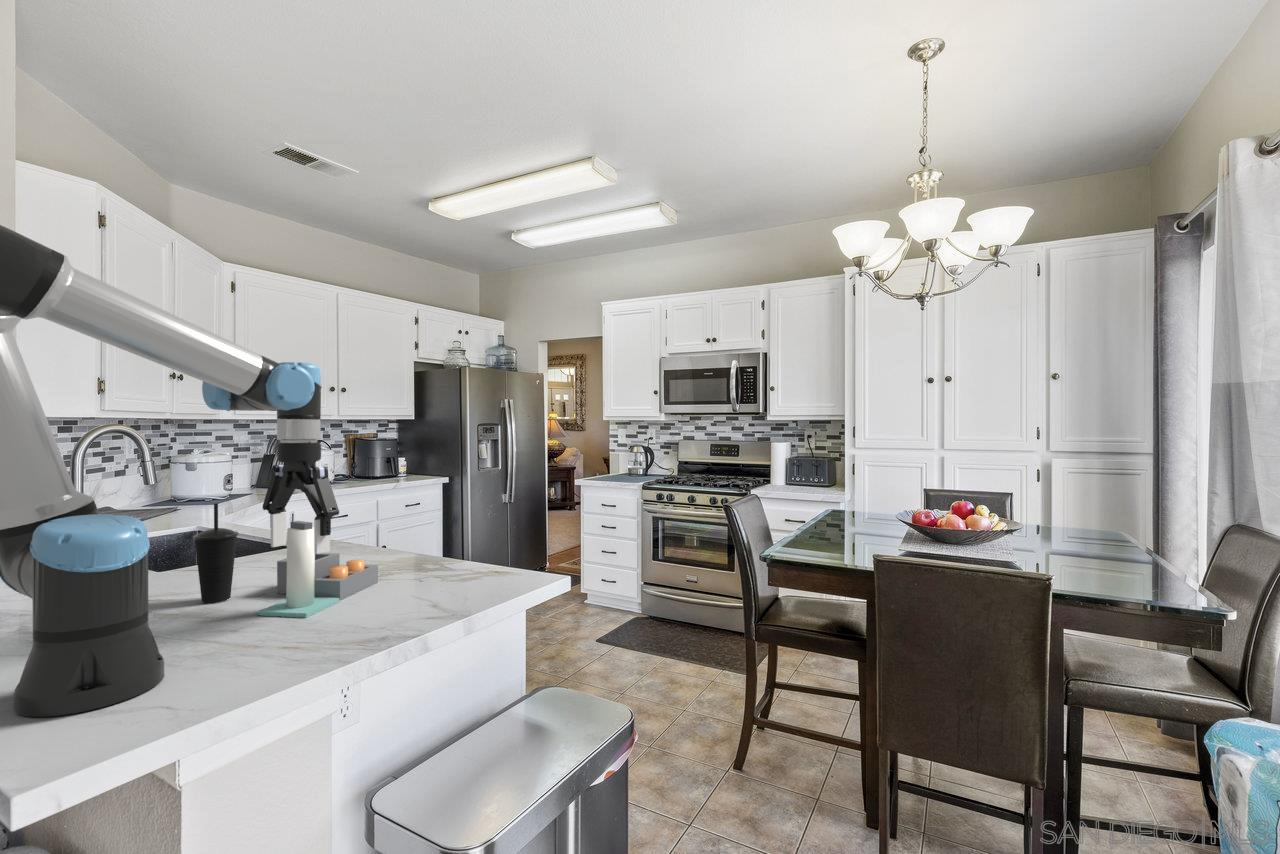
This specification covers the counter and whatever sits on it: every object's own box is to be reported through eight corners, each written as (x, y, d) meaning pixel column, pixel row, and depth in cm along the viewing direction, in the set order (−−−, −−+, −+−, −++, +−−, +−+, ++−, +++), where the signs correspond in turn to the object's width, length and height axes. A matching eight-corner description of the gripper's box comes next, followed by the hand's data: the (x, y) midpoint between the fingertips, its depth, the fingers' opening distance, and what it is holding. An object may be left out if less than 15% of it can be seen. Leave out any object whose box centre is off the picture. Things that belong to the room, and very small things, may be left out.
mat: (306, 617, 112) (306, 613, 112) (257, 615, 114) (257, 611, 114) (339, 601, 122) (339, 597, 122) (294, 600, 124) (294, 596, 124)
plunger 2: (358, 586, 132) (358, 563, 132) (343, 585, 132) (342, 563, 132) (367, 581, 135) (367, 559, 135) (352, 581, 136) (352, 559, 136)
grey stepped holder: (340, 600, 123) (340, 566, 123) (267, 597, 125) (267, 564, 125) (378, 582, 137) (377, 551, 137) (312, 580, 139) (312, 550, 139)
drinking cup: (221, 606, 120) (220, 506, 119) (183, 605, 120) (183, 506, 120) (247, 594, 127) (246, 501, 127) (211, 594, 127) (211, 501, 127)
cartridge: (319, 602, 119) (320, 521, 119) (296, 609, 115) (297, 525, 115) (304, 599, 121) (305, 519, 121) (280, 605, 117) (281, 522, 117)
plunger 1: (341, 593, 126) (341, 570, 126) (325, 593, 126) (325, 569, 126) (351, 589, 129) (351, 566, 129) (336, 588, 130) (336, 565, 130)
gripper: (358, 441, 115) (359, 551, 116) (279, 440, 127) (279, 540, 127) (322, 443, 109) (323, 559, 109) (242, 441, 120) (242, 546, 120)
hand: (299, 549), depth 118 cm, fingers open, 13 cm apart
